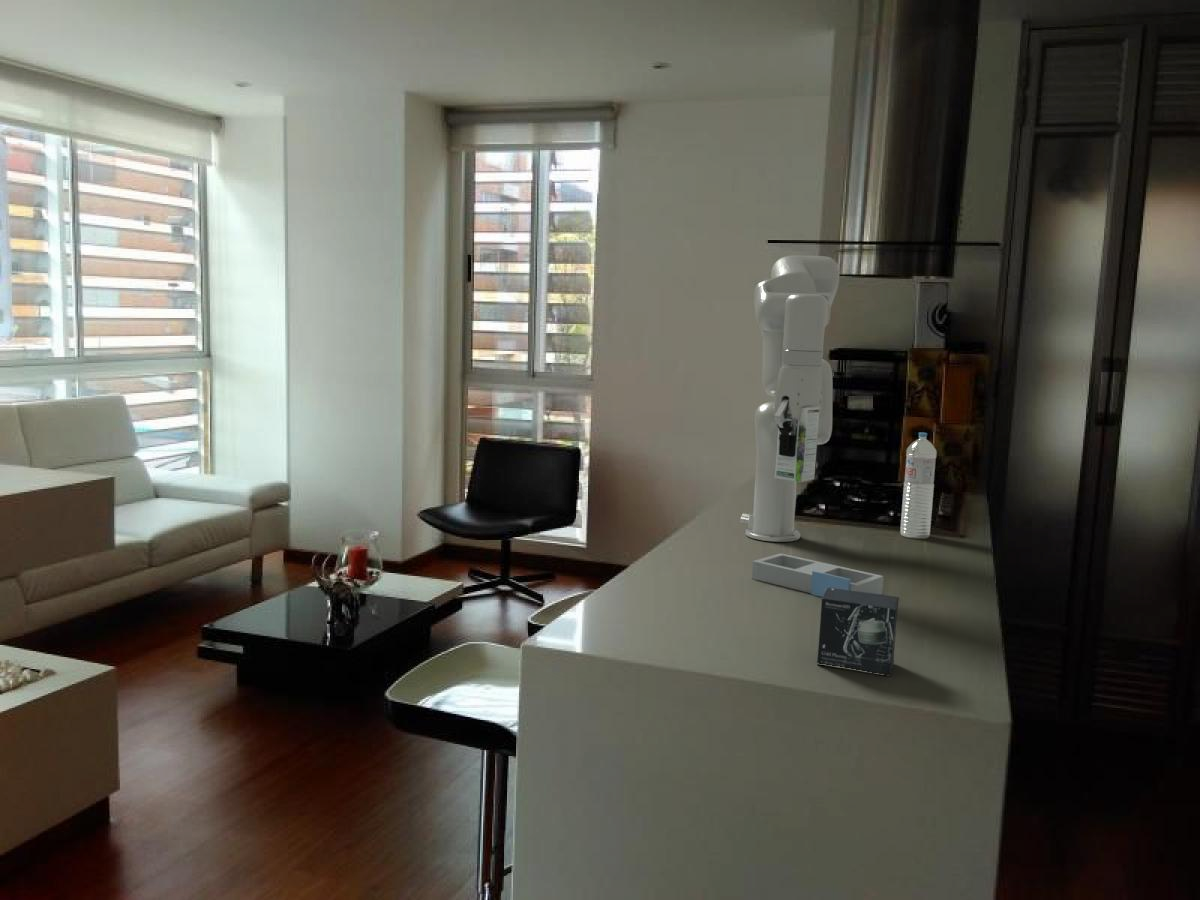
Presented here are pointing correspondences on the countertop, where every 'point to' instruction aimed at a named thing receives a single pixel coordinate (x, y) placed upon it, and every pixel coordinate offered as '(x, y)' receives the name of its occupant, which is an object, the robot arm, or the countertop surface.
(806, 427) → the syrup box
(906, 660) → the countertop surface
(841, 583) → the gray rectangular open frame
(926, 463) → the water bottle
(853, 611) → the box
